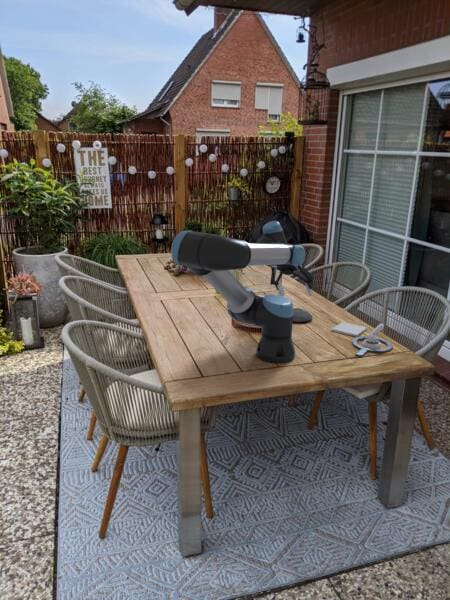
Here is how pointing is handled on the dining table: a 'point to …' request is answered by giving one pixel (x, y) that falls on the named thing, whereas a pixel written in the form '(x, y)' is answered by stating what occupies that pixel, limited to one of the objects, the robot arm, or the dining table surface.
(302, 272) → the robot arm
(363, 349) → the eye ring
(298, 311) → the flying saucer
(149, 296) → the dining table surface
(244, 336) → the dining table surface
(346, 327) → the tile
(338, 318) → the dining table surface
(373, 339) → the hook
